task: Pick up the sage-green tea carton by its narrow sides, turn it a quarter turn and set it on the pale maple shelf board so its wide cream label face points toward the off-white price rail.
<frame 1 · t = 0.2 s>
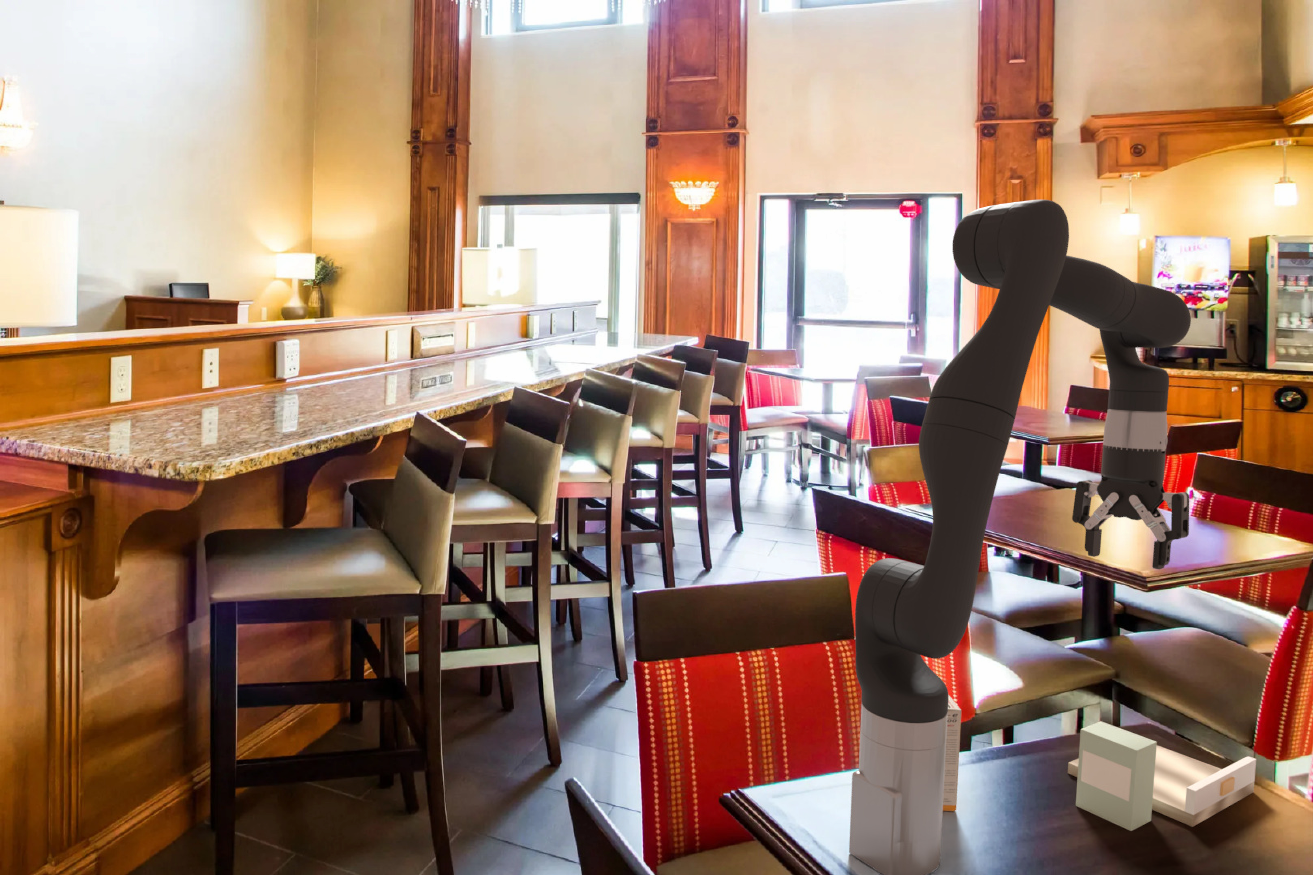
hand: (1125, 561, 121), 28 cm above the table, fingers open, 8 cm apart
supplement box: (929, 796, 113), on the table
tea carton: (1112, 812, 110), on the table
shelf board: (1158, 782, 118), on the table
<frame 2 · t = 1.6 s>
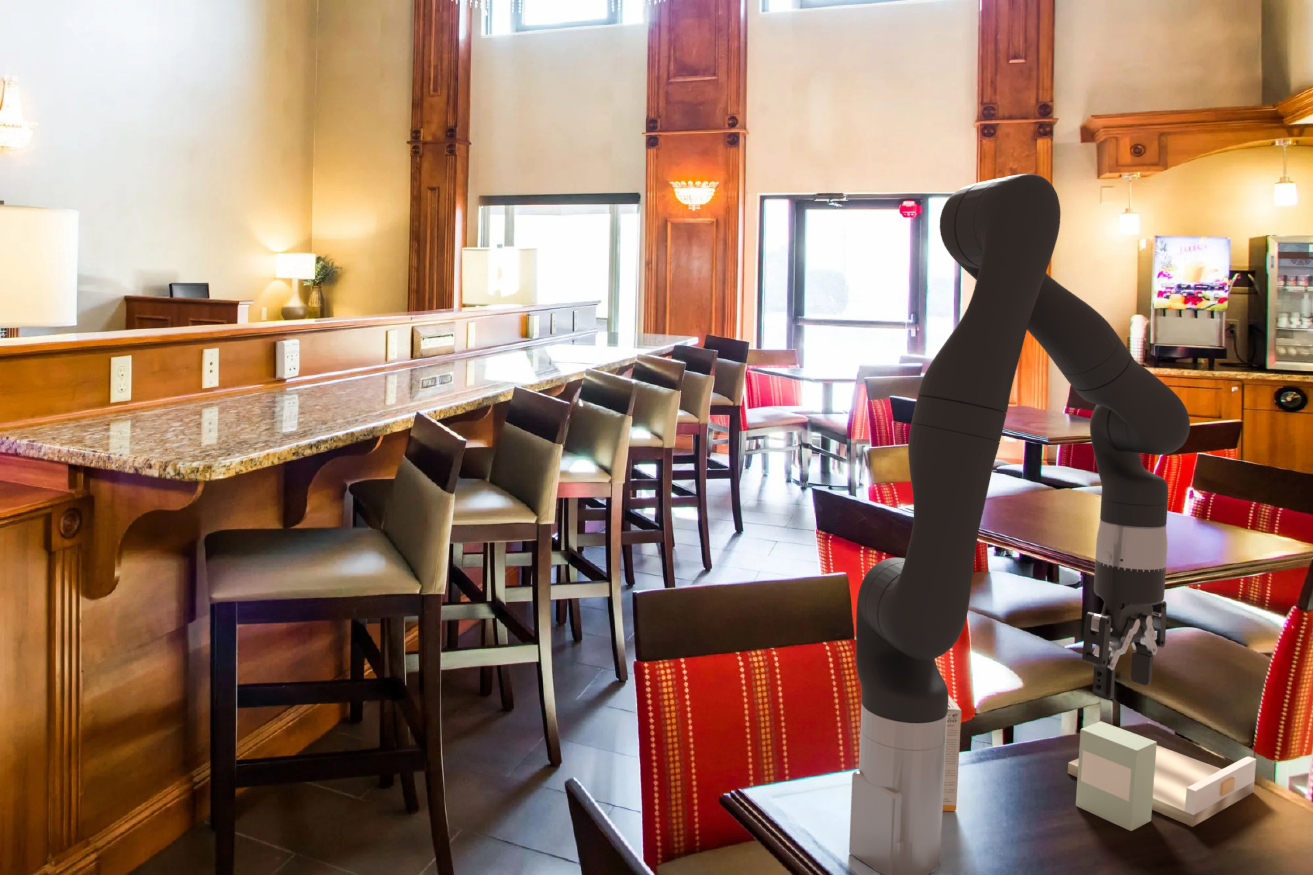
hand: (1122, 689, 108), 16 cm above the table, fingers open, 8 cm apart
nothing on the table moved.
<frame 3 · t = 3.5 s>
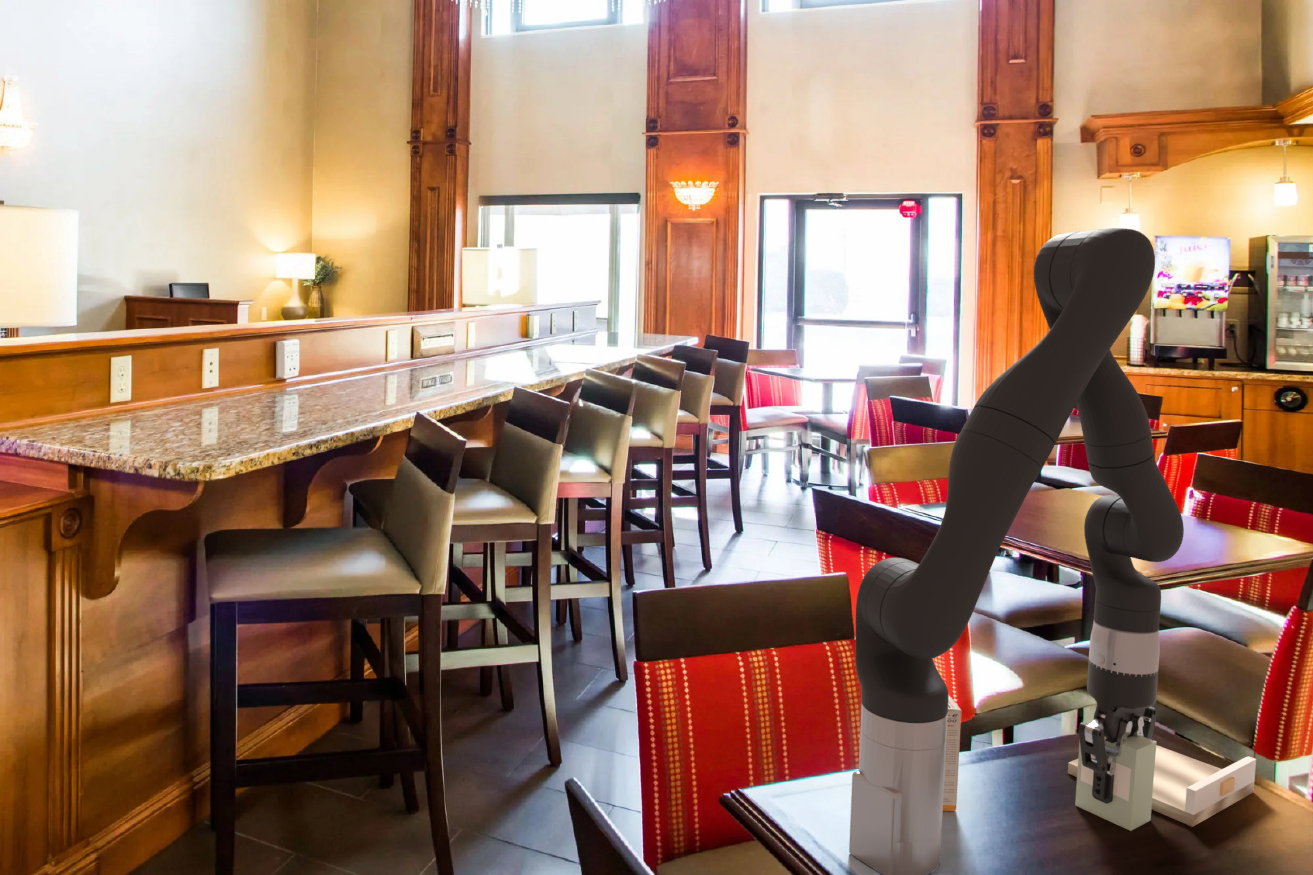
hand: (1113, 794, 109), 2 cm above the table, fingers closed on tea carton, 4 cm apart
tea carton: (1112, 812, 110), on the table, touching gripper
everything else where it was.
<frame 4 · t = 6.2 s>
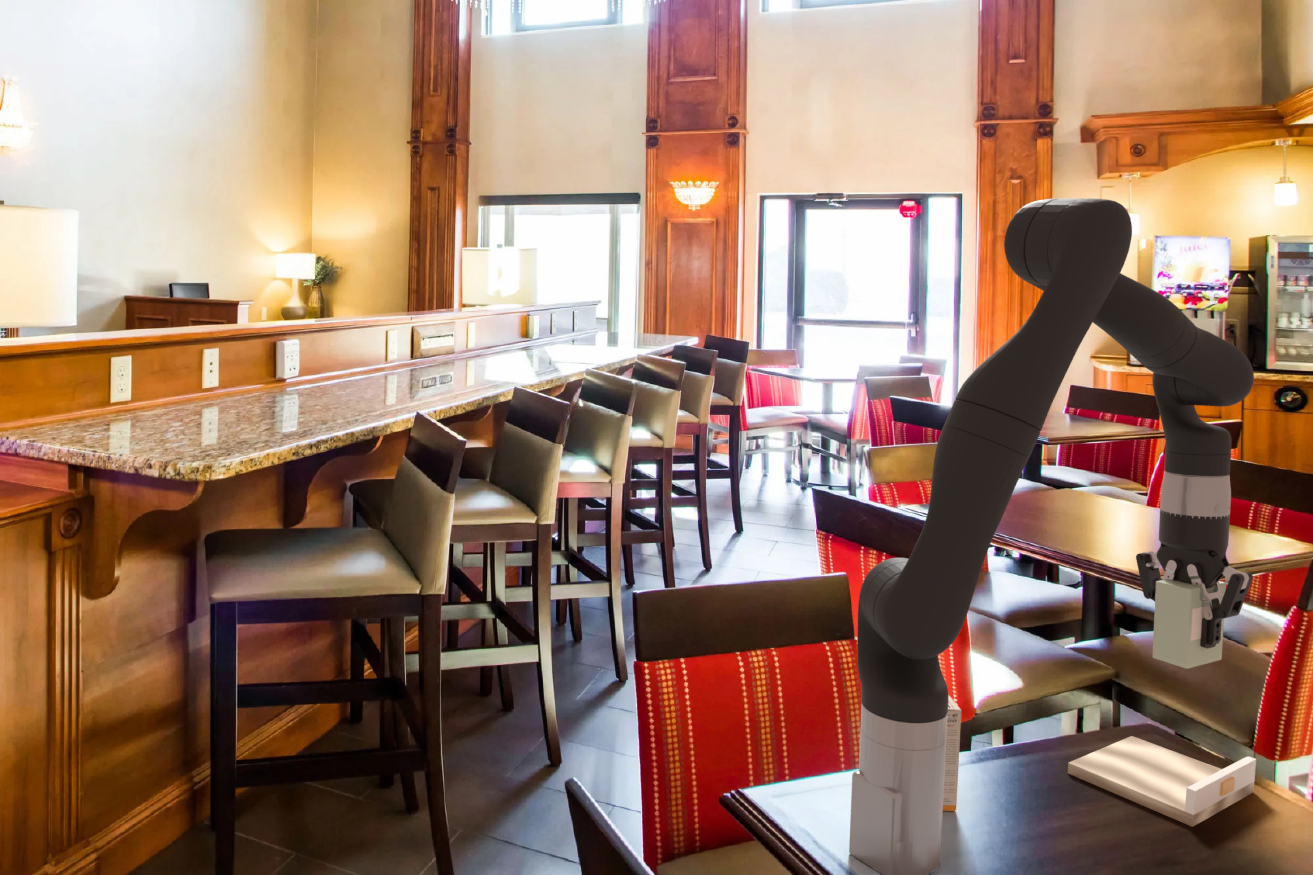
hand: (1187, 640, 113), 20 cm above the table, fingers closed on tea carton, 4 cm apart
tea carton: (1186, 658, 113), point 18 cm above the table, touching gripper
everything else where it was.
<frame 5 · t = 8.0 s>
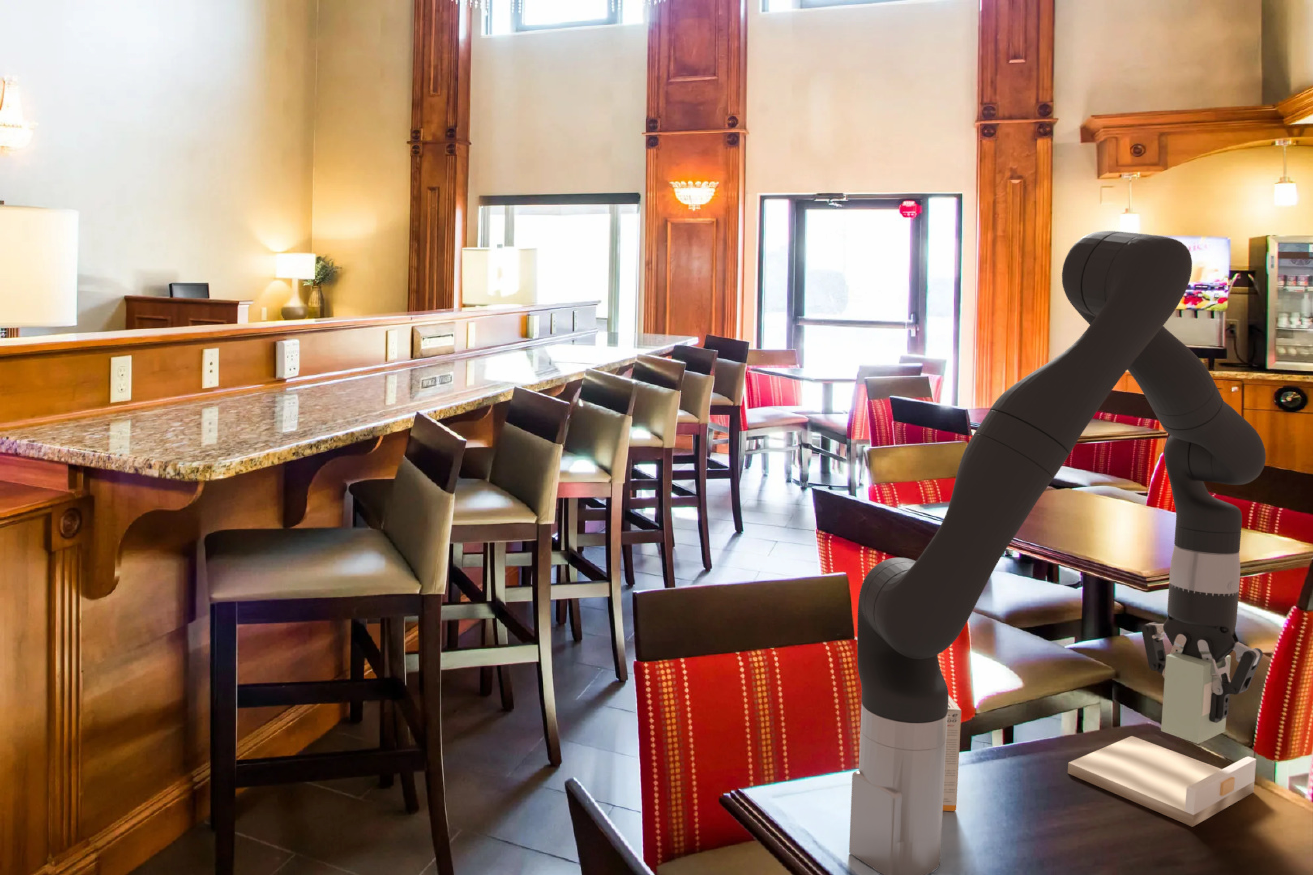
hand: (1194, 712, 114), 11 cm above the table, fingers closed on tea carton, 4 cm apart
tea carton: (1193, 731, 114), point 8 cm above the table, touching gripper
everything else where it was.
when the fingers open (6 cm above the table, at t = 9.4 s): tea carton drops 2 cm, resting on shelf board.
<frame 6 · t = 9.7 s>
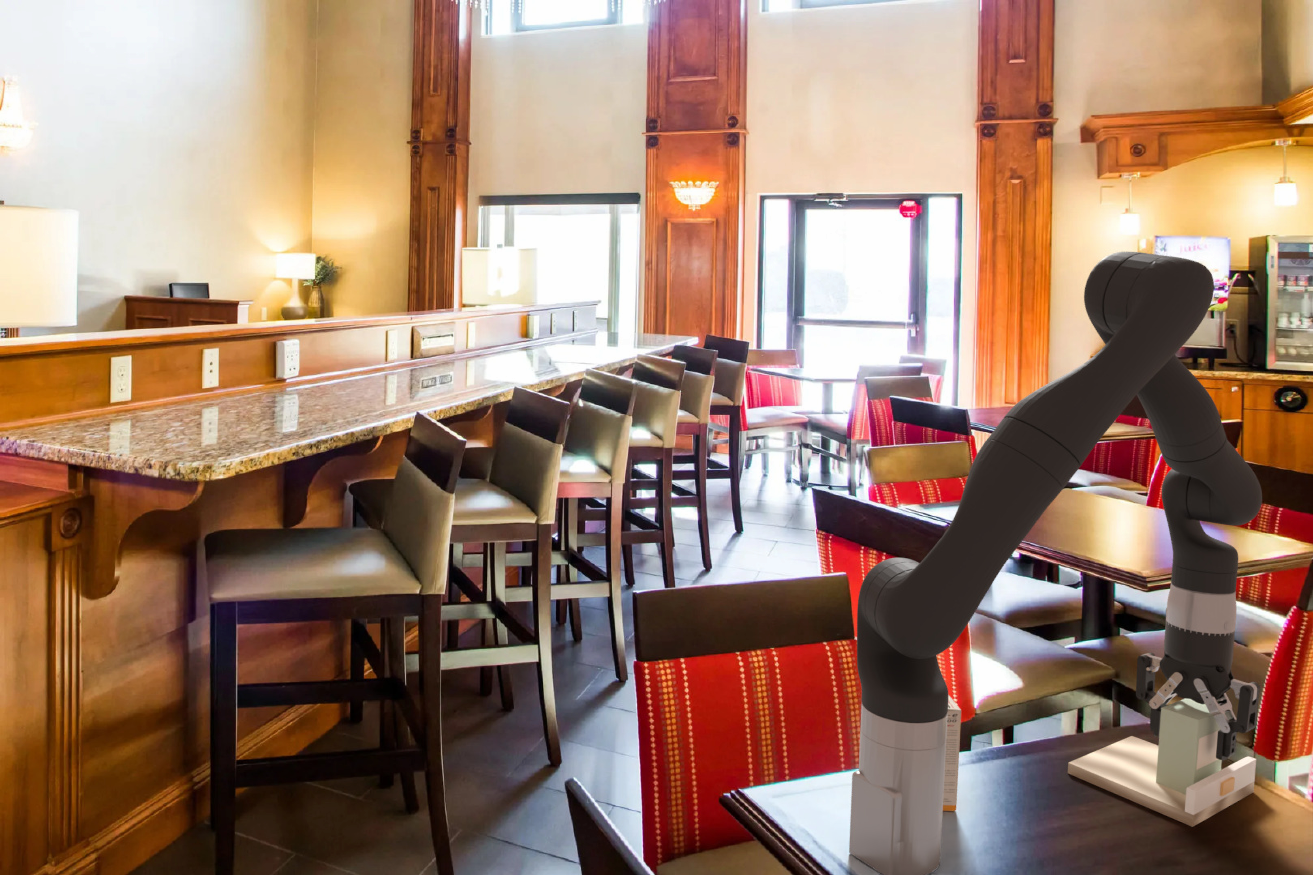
hand: (1190, 746, 114), 6 cm above the table, fingers open, 7 cm apart
tea carton: (1187, 782, 115), point 1 cm above the table, touching shelf board
everything else where it was.
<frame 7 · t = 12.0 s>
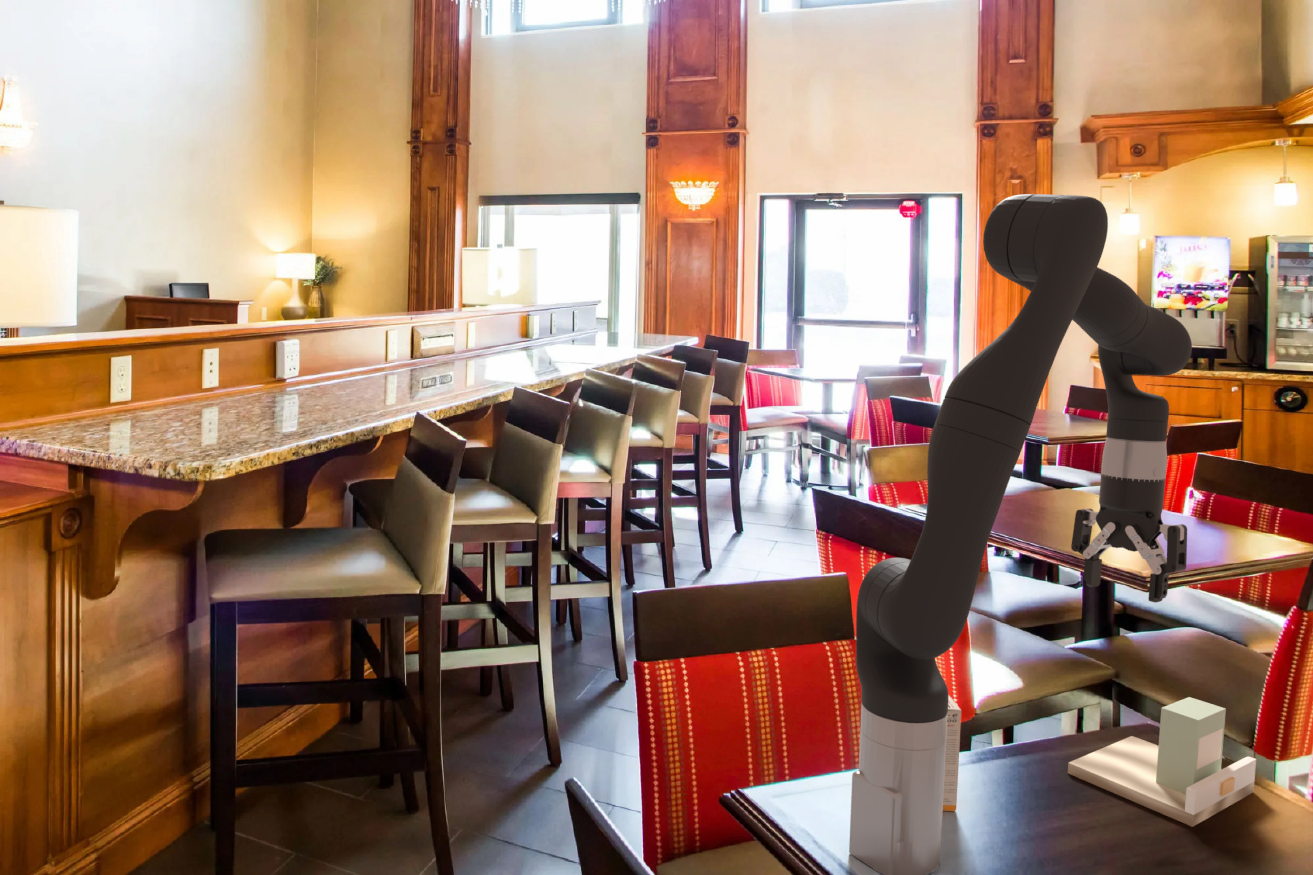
hand: (1123, 593, 119), 25 cm above the table, fingers open, 8 cm apart
nothing on the table moved.
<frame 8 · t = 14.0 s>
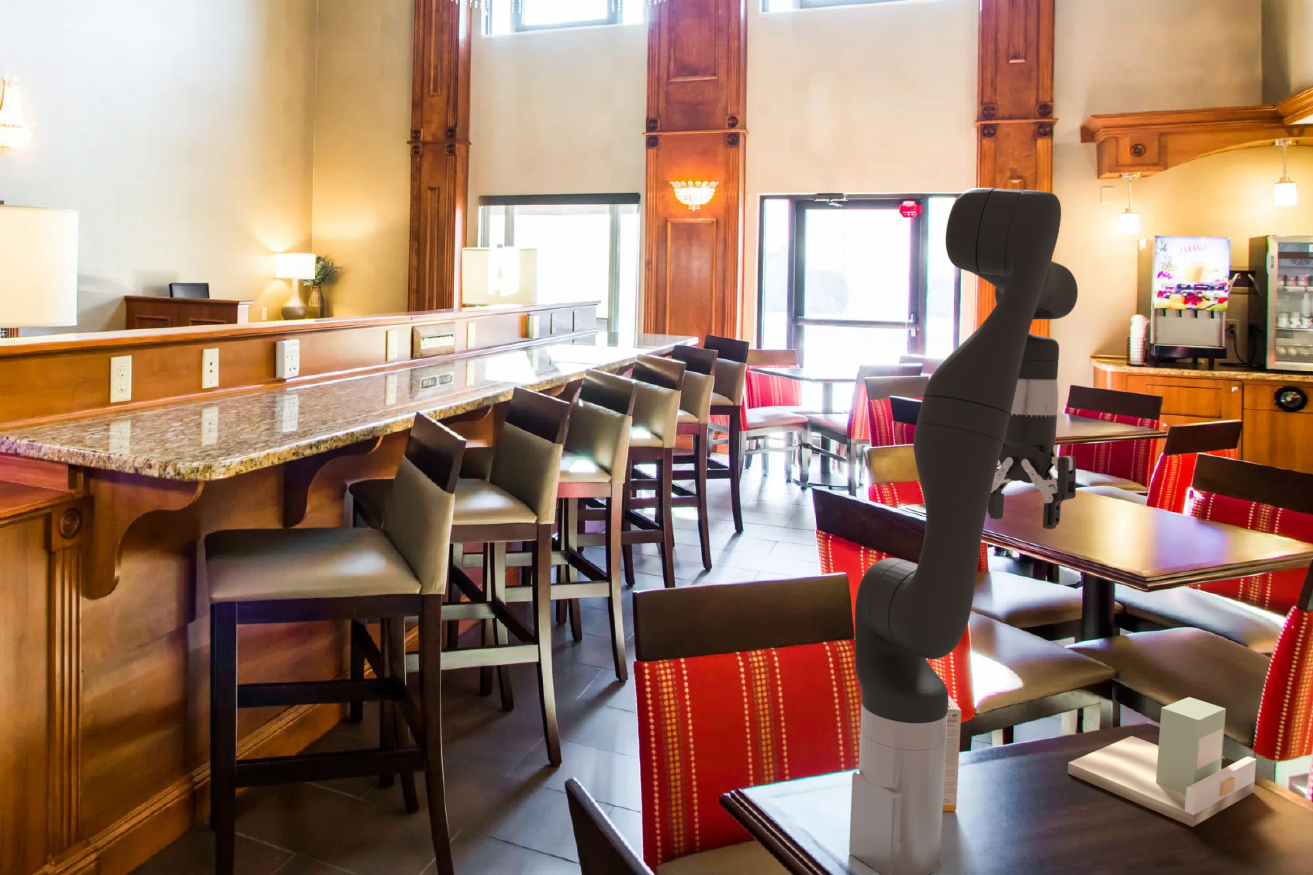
hand: (1021, 523, 128), 32 cm above the table, fingers open, 8 cm apart
nothing on the table moved.
at the end: tea carton inside the target area on the shelf board (0.1 cm from its centre), point 1.5 cm above the shelf board's base; tea carton tilted 0°; the gripper is holding nothing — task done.
